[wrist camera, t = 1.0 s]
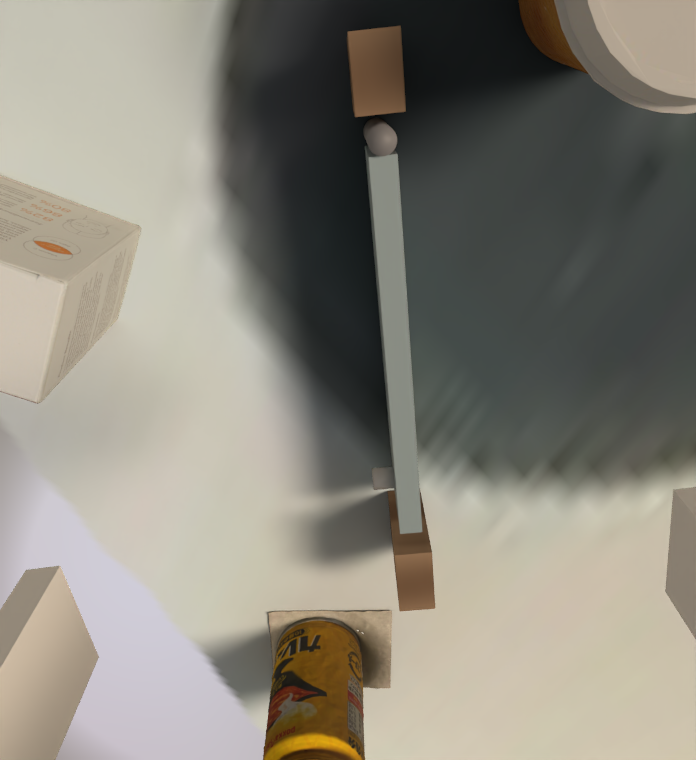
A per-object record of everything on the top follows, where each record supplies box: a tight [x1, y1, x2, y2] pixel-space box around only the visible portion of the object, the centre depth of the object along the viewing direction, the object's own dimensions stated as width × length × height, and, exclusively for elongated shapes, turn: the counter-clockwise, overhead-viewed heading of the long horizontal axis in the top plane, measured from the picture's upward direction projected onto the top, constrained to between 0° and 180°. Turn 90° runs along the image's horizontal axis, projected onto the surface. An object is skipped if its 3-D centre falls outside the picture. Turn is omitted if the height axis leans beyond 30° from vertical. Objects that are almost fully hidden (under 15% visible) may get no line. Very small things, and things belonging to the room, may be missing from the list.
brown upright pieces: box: [347, 26, 435, 611], centre depth 33 cm, size 29×2×6 cm, turn 6°
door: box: [363, 118, 422, 534], centre depth 33 cm, size 21×2×6 cm, turn 6°
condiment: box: [263, 611, 392, 760], centre depth 40 cm, size 7×8×12 cm
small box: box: [0, 175, 141, 404], centre depth 29 cm, size 8×6×10 cm
